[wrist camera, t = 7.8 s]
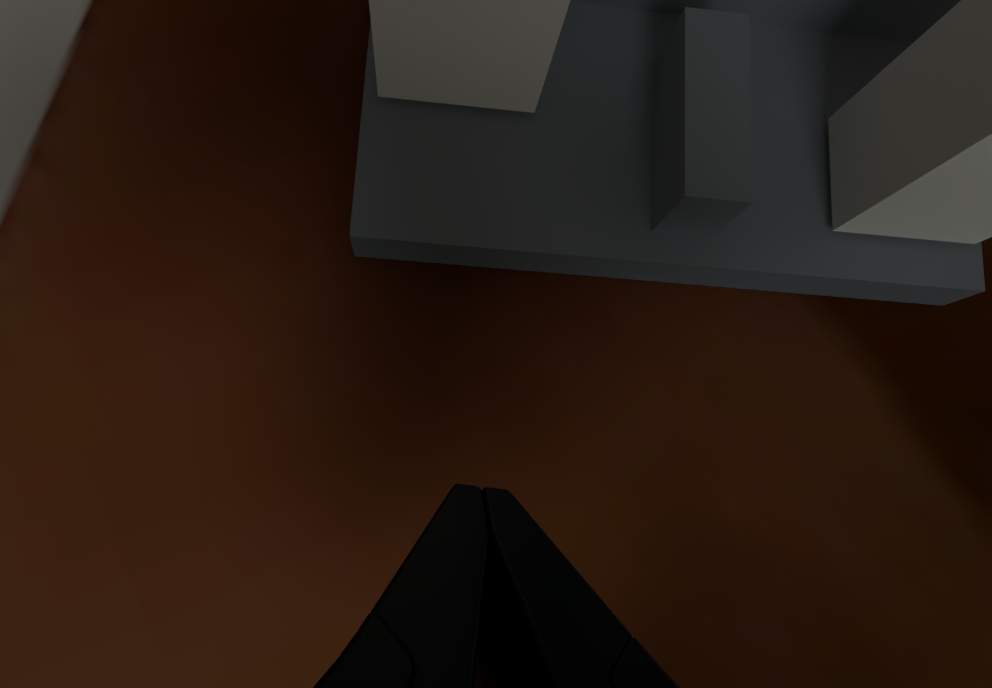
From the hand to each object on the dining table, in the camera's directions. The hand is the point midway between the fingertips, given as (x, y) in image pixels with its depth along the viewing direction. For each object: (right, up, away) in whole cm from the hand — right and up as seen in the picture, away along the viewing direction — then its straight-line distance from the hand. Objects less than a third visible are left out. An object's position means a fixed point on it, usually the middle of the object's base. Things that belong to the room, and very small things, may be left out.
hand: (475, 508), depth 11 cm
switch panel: (+6, +10, +16) cm, 20 cm away
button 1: (+14, +8, +14) cm, 21 cm away
